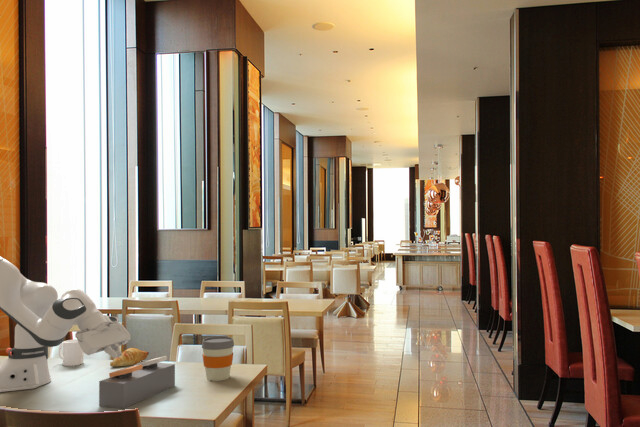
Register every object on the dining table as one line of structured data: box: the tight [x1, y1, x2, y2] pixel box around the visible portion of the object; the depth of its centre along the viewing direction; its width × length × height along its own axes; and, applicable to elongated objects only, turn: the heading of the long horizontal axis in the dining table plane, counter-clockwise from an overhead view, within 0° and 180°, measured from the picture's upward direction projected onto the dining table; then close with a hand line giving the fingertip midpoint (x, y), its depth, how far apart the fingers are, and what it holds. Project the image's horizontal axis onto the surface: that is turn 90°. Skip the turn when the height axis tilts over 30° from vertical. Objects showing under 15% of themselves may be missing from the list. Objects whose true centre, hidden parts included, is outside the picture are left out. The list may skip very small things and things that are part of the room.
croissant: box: [109, 347, 150, 368], centre depth 236 cm, size 21×10×8 cm, turn 153°
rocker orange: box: [108, 365, 143, 378], centre depth 181 cm, size 10×5×2 cm, turn 71°
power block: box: [98, 362, 176, 409], centre depth 188 cm, size 10×28×9 cm, turn 160°
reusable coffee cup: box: [201, 336, 235, 382], centre depth 210 cm, size 13×13×15 cm
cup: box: [58, 338, 85, 367], centre depth 236 cm, size 8×12×10 cm
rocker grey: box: [135, 355, 168, 366], centre depth 194 cm, size 10×5×2 cm, turn 71°
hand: (118, 356), depth 184 cm, fingers closed
